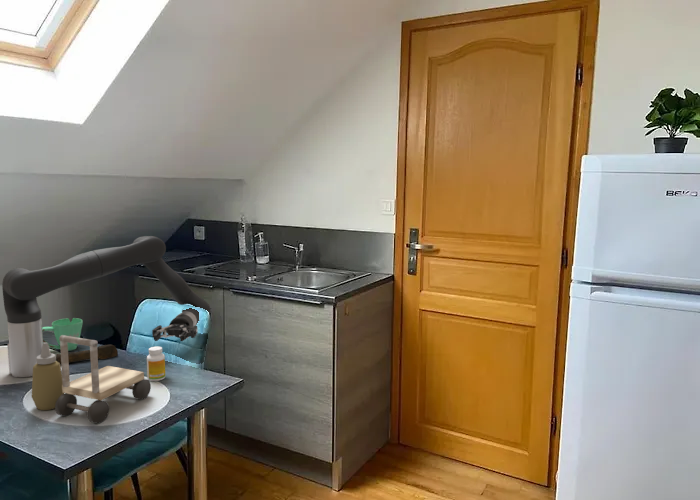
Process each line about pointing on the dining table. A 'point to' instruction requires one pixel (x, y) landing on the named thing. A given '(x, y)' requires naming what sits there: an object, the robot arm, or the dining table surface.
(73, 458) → the dining table surface
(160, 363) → the supplement bottle
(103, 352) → the hand tool
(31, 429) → the dining table surface
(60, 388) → the squeeze bottle
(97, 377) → the trolley
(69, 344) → the mug
